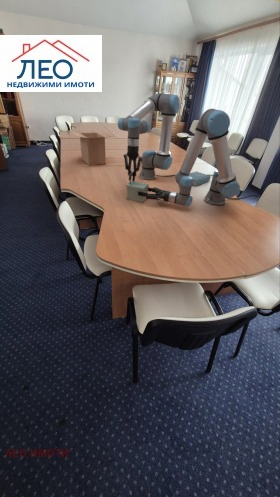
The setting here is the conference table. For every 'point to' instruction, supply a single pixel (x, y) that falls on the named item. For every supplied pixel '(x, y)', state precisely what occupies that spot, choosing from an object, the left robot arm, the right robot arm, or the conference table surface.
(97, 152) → the box
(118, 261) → the conference table surface
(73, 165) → the conference table surface
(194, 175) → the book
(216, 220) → the conference table surface
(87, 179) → the conference table surface
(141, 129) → the left robot arm
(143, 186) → the lid
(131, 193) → the chest
